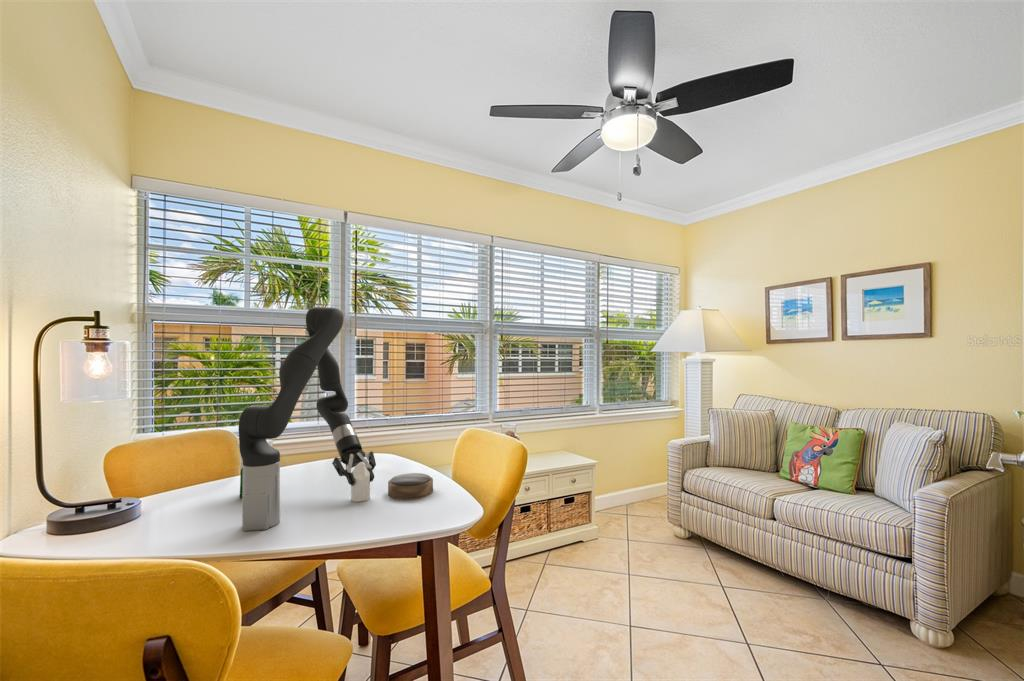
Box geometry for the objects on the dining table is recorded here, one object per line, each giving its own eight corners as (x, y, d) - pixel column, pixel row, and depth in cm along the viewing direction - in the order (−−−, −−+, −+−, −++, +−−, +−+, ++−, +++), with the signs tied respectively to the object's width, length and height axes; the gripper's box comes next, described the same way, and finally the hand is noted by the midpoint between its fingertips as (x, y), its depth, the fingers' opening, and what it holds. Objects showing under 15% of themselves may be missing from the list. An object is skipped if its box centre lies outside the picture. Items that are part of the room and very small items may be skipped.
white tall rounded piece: (351, 465, 146) (349, 461, 151) (351, 502, 146) (349, 497, 151) (371, 463, 149) (368, 459, 154) (371, 500, 148) (368, 495, 154)
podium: (432, 497, 150) (432, 483, 150) (386, 500, 148) (386, 485, 148) (432, 484, 165) (432, 471, 165) (390, 487, 163) (390, 473, 163)
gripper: (329, 437, 151) (345, 480, 142) (369, 431, 161) (387, 471, 152) (322, 450, 154) (337, 493, 145) (362, 444, 164) (379, 484, 155)
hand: (362, 482), depth 149 cm, fingers closed on white tall rounded piece, 5 cm apart
